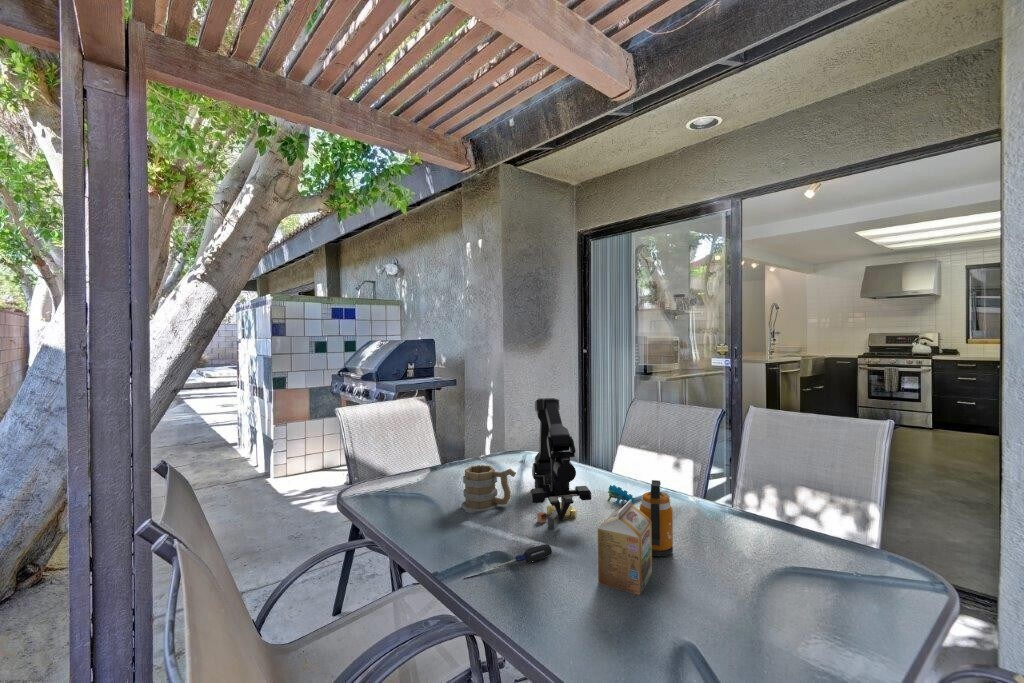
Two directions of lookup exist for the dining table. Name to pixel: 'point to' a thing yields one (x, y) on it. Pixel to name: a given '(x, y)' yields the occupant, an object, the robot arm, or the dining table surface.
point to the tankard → (484, 488)
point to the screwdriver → (531, 555)
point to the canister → (659, 519)
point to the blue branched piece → (619, 494)
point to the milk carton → (625, 550)
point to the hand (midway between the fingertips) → (561, 520)
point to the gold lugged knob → (553, 518)
